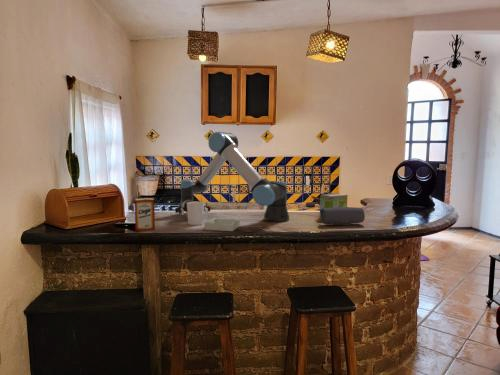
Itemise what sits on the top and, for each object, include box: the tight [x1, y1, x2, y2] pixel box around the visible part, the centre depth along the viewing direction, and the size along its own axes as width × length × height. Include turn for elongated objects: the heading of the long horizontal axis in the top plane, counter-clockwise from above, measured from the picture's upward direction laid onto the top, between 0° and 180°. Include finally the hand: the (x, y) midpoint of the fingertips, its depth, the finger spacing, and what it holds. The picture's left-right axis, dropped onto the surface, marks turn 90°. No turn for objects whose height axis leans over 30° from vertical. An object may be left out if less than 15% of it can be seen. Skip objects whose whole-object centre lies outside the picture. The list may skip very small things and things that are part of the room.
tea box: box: [318, 193, 348, 219], centre depth 220 cm, size 15×10×15 cm, turn 131°
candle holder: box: [186, 200, 205, 226], centre depth 201 cm, size 10×10×12 cm
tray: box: [204, 217, 241, 232], centre depth 192 cm, size 15×15×4 cm
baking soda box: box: [134, 197, 156, 232], centre depth 186 cm, size 10×6×16 cm
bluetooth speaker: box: [319, 206, 365, 226], centre depth 200 cm, size 23×9×10 cm, turn 100°
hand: (195, 211), depth 200 cm, fingers open, 13 cm apart
